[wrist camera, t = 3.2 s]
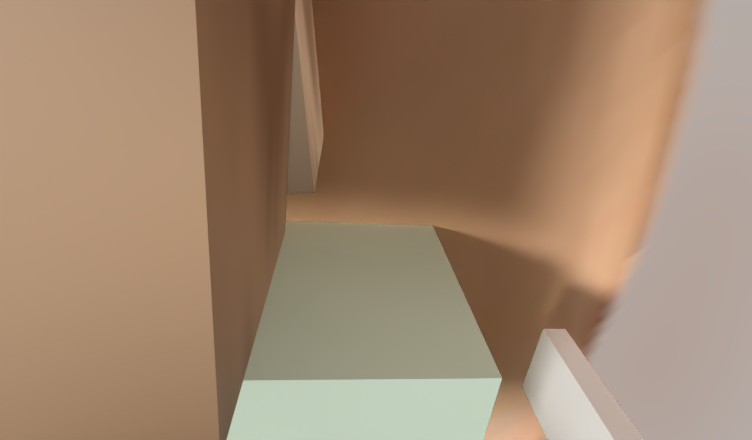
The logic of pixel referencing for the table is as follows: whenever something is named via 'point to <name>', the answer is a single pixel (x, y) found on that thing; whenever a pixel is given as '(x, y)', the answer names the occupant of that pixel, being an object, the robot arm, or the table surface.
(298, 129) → the beech block
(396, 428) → the sage cube
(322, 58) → the table surface
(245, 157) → the walnut block
